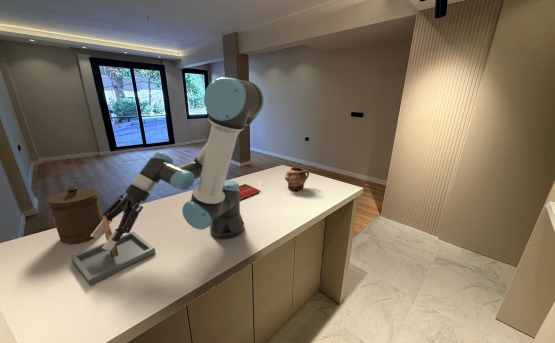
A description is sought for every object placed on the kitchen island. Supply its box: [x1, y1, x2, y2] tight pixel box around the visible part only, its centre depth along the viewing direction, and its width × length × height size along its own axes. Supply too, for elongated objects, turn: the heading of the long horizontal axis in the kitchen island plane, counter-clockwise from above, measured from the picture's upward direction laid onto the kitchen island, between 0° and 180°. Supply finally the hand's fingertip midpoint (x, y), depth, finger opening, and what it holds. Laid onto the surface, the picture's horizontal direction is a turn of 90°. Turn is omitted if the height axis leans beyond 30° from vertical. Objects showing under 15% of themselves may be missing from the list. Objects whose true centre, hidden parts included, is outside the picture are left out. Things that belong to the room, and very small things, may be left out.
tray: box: [70, 231, 156, 287], centre depth 81 cm, size 18×20×2 cm
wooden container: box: [48, 185, 105, 245], centre depth 91 cm, size 15×15×22 cm
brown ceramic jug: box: [284, 167, 310, 191], centre depth 149 cm, size 20×12×14 cm, turn 130°
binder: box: [239, 183, 261, 202], centre depth 140 cm, size 16×2×21 cm
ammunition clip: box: [103, 215, 118, 257], centre depth 78 cm, size 11×2×12 cm, turn 43°
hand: (100, 243), depth 77 cm, fingers closed on ammunition clip, 10 cm apart
